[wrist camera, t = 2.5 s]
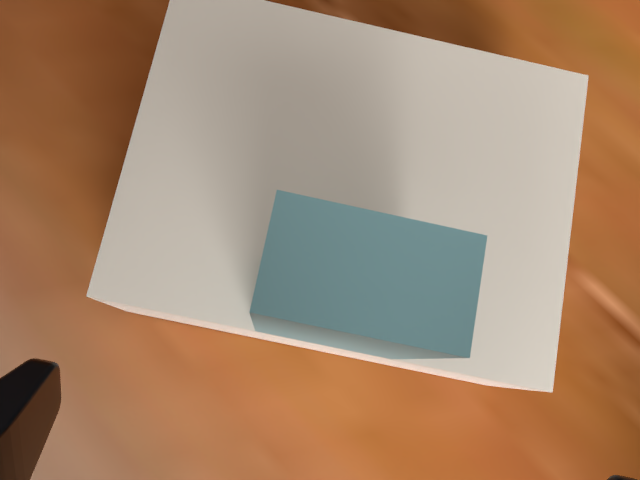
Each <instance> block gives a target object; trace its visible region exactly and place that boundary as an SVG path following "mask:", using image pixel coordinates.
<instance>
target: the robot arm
mask: <svg viewBox="0 0 640 480" xmlns="http://www.w3.org/2000/svg"><path fill="white" fill-rule="evenodd" d="M60 403H61V383H60V368H59V366H58V364H57V363H55V362H51V361H46V360H41V359H30V360H28V361H26V362H24V363H23V364H21V365H20V366H18V367H17V368H15V369H14V370H12V371H11V372H9V373H8V374H6V375H5V376H3V377H2V378H0V480H30V478H31V476H32V473H33V471H34V469H35V466H36V464H37V461H38V459H39V457H40V454H41V452H42V450H43V447H44V445H45V442H46V440H47V438H48V435H49V433H50V430H51V428H52V426H53V423H54V421H55V418H56V416H57V414H58V411H59V408H60ZM607 480H637V479H634V478H630V477H625V476H620V475H613V476H610V477H609V478H608V479H607Z"/></svg>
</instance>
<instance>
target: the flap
mask: <svg viewBox="0 0 640 480" xmlns="http://www.w3.org/2000/svg"><path fill="white" fill-rule="evenodd" d="M587 85H588V75H584V74H579V73H575V72H571V71H566V70H562V69H558V68H554V67H549V66H545V65H541V64H536V63H532V62H528V61H523V60H519V59H515V58H511V57H506V56H502V55H498V54H493V53H489V52H485V51H480V50H476V49H472V48H468V47H463V46H459V45H455V44H450V43H446V42H442V41H437V40H433V39H429V38H425V37H420V36H416V35H412V34H407V33H403V32H399V31H394V30H390V29H386V28H382V27H377V26H373V25H369V24H364V23H360V22H356V21H351V20H347V19H343V18H339V17H334V16H330V15H326V14H321V13H317V12H313V11H308V10H304V9H300V8H296V7H291V6H287V5H283V4H278V3H274V2H270V1H265V0H170V2H169V5H168V9H167V12H166V16H165V19H164V23H163V26H162V30H161V33H160V37H159V41H158V44H157V48H156V51H155V55H154V58H153V62H152V65H151V69H150V72H149V76H148V79H147V83H146V87H145V90H144V94H143V97H142V101H141V104H140V108H139V111H138V115H137V118H136V122H135V125H134V129H133V133H132V136H131V140H130V143H129V147H128V150H127V154H126V157H125V161H124V164H123V168H122V172H121V175H120V179H119V182H118V186H117V189H116V193H115V196H114V200H113V203H112V207H111V210H110V214H109V218H108V221H107V225H106V228H105V232H104V235H103V239H102V242H101V246H100V249H99V253H98V256H97V260H96V264H95V267H94V271H93V274H92V278H91V281H90V285H89V288H88V292H87V295H86V296H87V297H89V298H92V299H96V300H101V301H106V302H111V303H116V304H121V305H125V306H130V307H135V308H140V309H145V310H150V311H155V312H159V313H164V314H169V315H174V316H179V317H184V318H189V319H193V320H198V321H203V322H208V323H213V324H218V325H223V326H227V327H232V328H237V329H242V330H247V331H252V332H257V333H261V334H266V335H271V336H276V337H281V338H286V339H291V340H295V341H300V342H305V343H310V344H315V345H320V346H324V347H329V348H334V349H339V350H344V351H349V352H354V353H358V354H363V355H368V356H373V357H378V358H383V359H388V360H392V361H397V362H402V363H407V364H412V365H417V366H422V367H426V368H431V369H436V370H441V371H446V372H451V373H456V374H460V375H465V376H470V377H475V378H480V379H485V380H489V381H494V382H499V383H504V384H509V385H514V386H519V387H523V388H528V389H533V390H538V391H544V392H553V384H554V375H555V366H556V357H557V349H558V340H559V331H560V322H561V313H562V305H563V296H564V287H565V278H566V270H567V261H568V252H569V243H570V234H571V226H572V217H573V208H574V199H575V190H576V182H577V173H578V164H579V155H580V146H581V138H582V129H583V120H584V111H585V103H586V94H587Z"/></svg>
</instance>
